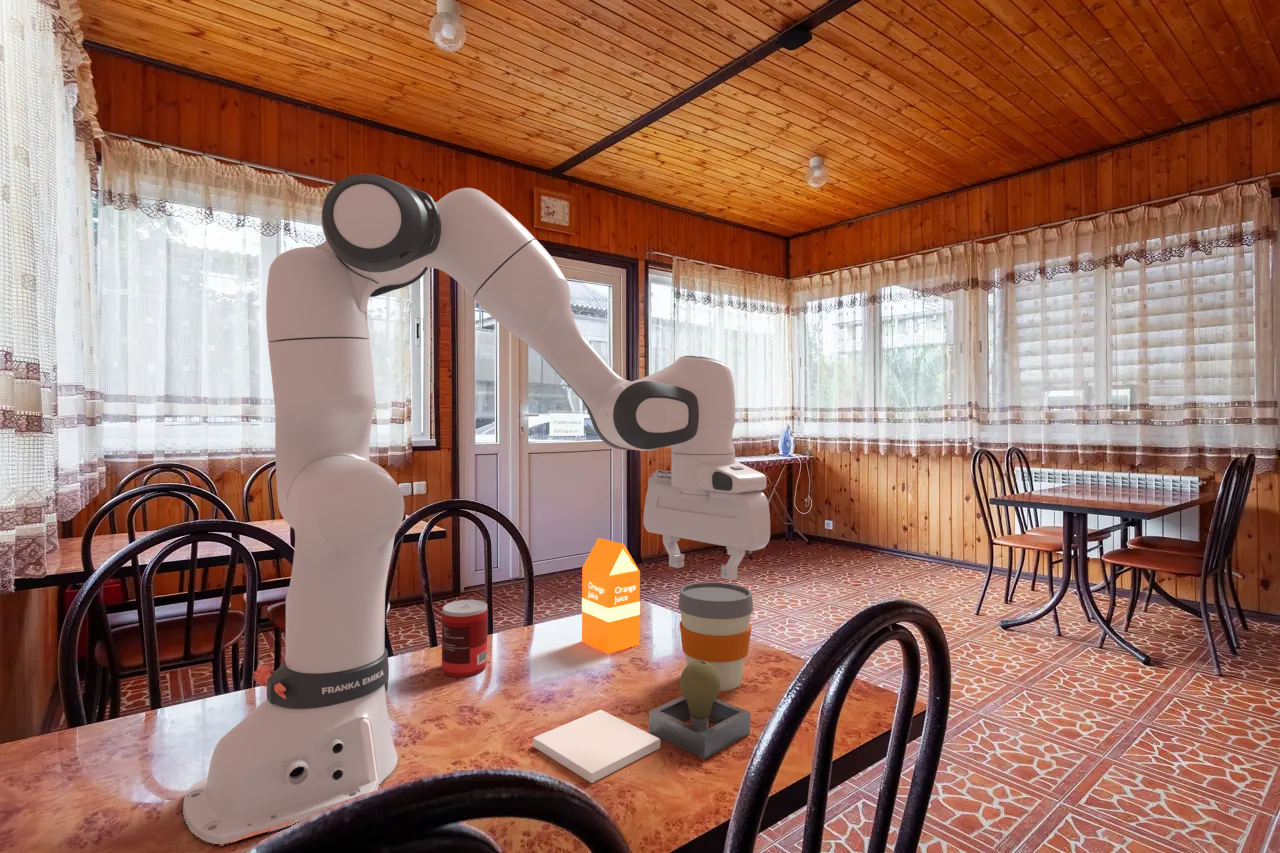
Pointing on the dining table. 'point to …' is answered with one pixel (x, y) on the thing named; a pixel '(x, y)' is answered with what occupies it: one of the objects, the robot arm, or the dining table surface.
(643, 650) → the dining table surface
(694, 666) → the light bulb
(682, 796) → the dining table surface
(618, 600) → the orange juice
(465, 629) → the canned food
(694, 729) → the square socket
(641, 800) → the dining table surface
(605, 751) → the cream pad
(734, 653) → the reusable coffee cup
